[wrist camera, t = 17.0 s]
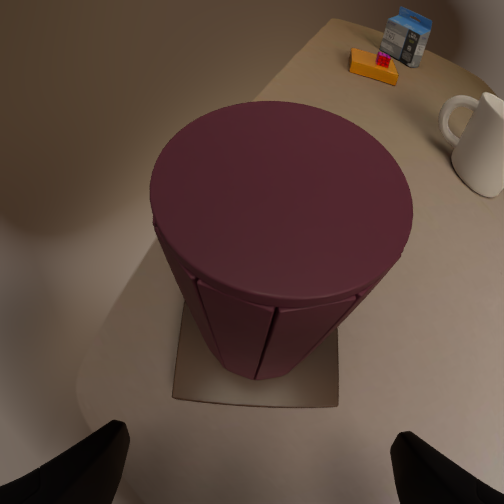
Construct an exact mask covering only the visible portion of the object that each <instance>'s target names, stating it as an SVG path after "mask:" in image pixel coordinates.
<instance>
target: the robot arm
mask: <svg viewBox="0 0 504 504" xmlns="http://www.w3.org/2000/svg"><path fill="white" fill-rule="evenodd" d="M129 444H130V436H129V433H128V430H127V427H126V424H125V423H124V422H122V421H118V420H112V421H110V422H109V423H107V424H106V425H104V426H103V427H101V428H100V429H98V430H97V431H95V432H94V433H92V434H91V435H89V436H88V437H86V438H85V439H83V440H82V441H80V442H79V443H77V444H76V445H74V446H72V447H71V448H69V449H68V450H66V451H65V452H63V453H61V454H60V455H58V456H57V457H55V458H53V459H52V460H50V461H49V462H47V463H45V464H44V465H42V466H40V468H37V469H35V470H33V471H32V472H30V473H28V474H26V475H25V476H23V477H21V478H19V479H16V480H14V481H12V482H10V483H8V484H5V485H2V486H0V504H112V501H113V499H114V496H115V493H116V491H117V488H118V485H119V483H120V480H121V477H122V473H123V469H124V464H125V460H126V456H127V452H128V448H129ZM390 454H391V460H392V466H393V473H394V479H395V485H396V490H397V494H398V497H399V501H400V504H504V494H502V493H501V492H499V491H497V490H495V489H493V488H491V487H490V486H488V485H487V484H485V483H483V482H482V481H480V480H479V479H477V478H476V477H474V476H473V475H471V474H470V473H468V472H467V471H466V470H464V469H463V468H461V467H460V466H458V465H457V464H455V463H454V462H453V461H451V460H450V459H448V458H447V457H446V456H444V455H443V454H441V453H440V452H439V451H437V450H436V449H434V448H433V447H432V446H430V445H429V444H427V443H426V442H425V441H423V440H422V439H421V438H419V437H418V436H417V435H415V434H414V433H412V432H411V431H406V432H401V433H399V434H398V435H397V437H396V439H395V441H394V443H393V444H392V446H391V450H390Z"/></svg>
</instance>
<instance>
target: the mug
mask: <svg viewBox="0 0 504 504" xmlns="http://www.w3.org/2000/svg"><path fill="white" fill-rule="evenodd" d="M457 107H467V108H469V109H471V110H472V111H473V114H472V116H471V118H470V120H469V122H468V124H467V126H466V128H465V130H464V131H463V133H462V135H461V137H460V138H458V137H457V136H455V135H454V134H453V133H452V132H451V131H450V129H449V126H448V119H449V116H450V114H451V112H452V111H453V110H454V109H455V108H457ZM438 122H439V128H440V131H441V133H442V135H443V137H444V138H445V140H446V141H447V142H448V143H449V144H450V145H451V146H453V147H454V150H453V152H452V156H451V159H452V164H453V167H454V169H455V171H456V173H457V174H458V175H459V177H460V178H461V179H462V180H463V182H464V183H465V184H466V185H467V186H469V187H470V188H471V189H472V190H473V191H475V192H476V193H478V194H480V195H482V196H485V197H495V196H497V195H498V194H499V193H500V192H501V191H502V190H503V188H504V101H503V100H501V99H500V98H498V97H496V96H495V95H493V94H490V93H487V92H484V93H483V94H482V96H481V98H480V100H479V101H478V100H476V99H474V98H472V97H470V96H465V95H458V96H454V97H452V98H450V99H448V100H447V101H446V102H445V103H444V104H443V106H442V108H441V110H440V113H439V120H438Z"/></svg>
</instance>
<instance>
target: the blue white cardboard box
mask: <svg viewBox="0 0 504 504" xmlns="http://www.w3.org/2000/svg"><path fill="white" fill-rule="evenodd" d="M410 16H413V17H414V16H416V17H417V19H419V20H420V21H421V22H418V21H416V20H414V19H412V18H410ZM431 25H432V21H431V20H429V19H427V18H425V17H423V16H421V15H419V14H417V13H415V12H412V11H410V10H408V9H406V8H403V7H400V11H399V15H397V16H395V17H392V18H389V19H388V21H387V25H386V29H385V32H384V36H383V39H382V43H381V46H380V50H382V51H384V52H385V53H387V54H389V55H391V56H393V57H394V58H396V59H398V60H399V61H401V62H403V63H404V64H406V65H408V66H409V67H418V66H419V63H420V60H421V58H422V55H423V52H424V49H425V45H426V43H427V40H428V37H429V34H430V30H431Z"/></svg>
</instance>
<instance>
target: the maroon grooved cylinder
mask: <svg viewBox="0 0 504 504" xmlns="http://www.w3.org/2000/svg"><path fill="white" fill-rule="evenodd" d="M150 202H151V208H152V213H153V226H154V228H155V232H156V235H157V237H158V240H159V242H160V244H161V247H162V249H163V252H164V254H165V256H166V259H167V261H168V263H169V266H170V268H171V270H172V272H173V275H174V277H175V279H176V281H177V284H178V286H179V288H180V290H181V292H182V295H183V297H184V299H185V301H186V303H187V305H188V307H189V310H190V312H191V314H192V316H193V318H194V320H195V322H196V324H197V326H198V328H199V330H200V332H201V334H202V336H203V338H204V340H205V342H206V344H207V346H208V348H209V349H210V351H211V352H212V353H213V355H214V356H215V357H216V358H217V360H218V361H219V362H220V363H221V365H222V366H223V367H224V368H226V369H227V371H230V372H233V373H235V374H238V375H240V376H243V377H246V378H248V379H251V380H254V377H255V380H262V379H268V378H274V377H280V376H283V375H284V374H285V375H286V374H287V373H288V372H290V371H291V370H292V369H293V368H294V367H296V366H297V365H298V364H299V363H300V362H301V361H303V360H304V359H305V358H306V357H307V356H308V355H309V354H310V353H311V352H312V351H313V350H315V349H316V348H317V347H318V346H319V345H320V344H321V343H322V342H323V341H324V340H325V339H326V338H327V337H328V336H329V335H330V334H331V333H332V332H333V331H334V330H335V329H336V328H337V327H338V326H339V325H340V324H341V323H342V322H343V321H344V320H345V319H346V318H347V317H348V316H349V314H350V313H351V312H352V311H353V310H354V309H355V308H356V307H357V306H358V305H359V304H360V303H361V302H362V301H363V300H364V298H365V297H366V296H367V295H368V294H369V293H370V292H371V291H372V290H373V288H374V287H375V286H376V285H377V284H378V283H379V282H380V281H381V279H382V278H383V277H384V276H385V275H386V274H387V273H388V271H389V270H390V269H391V268H392V267H393V265H394V264H395V263H396V262H397V261H398V260H399V258H400V257H401V253H402V252H403V249H404V247H405V245H406V243H407V241H408V238H409V235H410V231H411V228H412V219H413V204H412V197H411V193H410V189H409V186H408V183H407V181H406V178H405V176H404V174H403V172H402V170H401V168H400V167H399V165H398V164H397V162H396V161H395V159H394V158H393V157H392V155H391V154H390V153H389V152H388V151H387V150H386V149H385V147H384V146H383V145H382V144H381V143H379V142H378V141H377V140H376V139H375V138H374V137H373V136H371V135H370V134H369V133H367V132H366V131H365V130H363V129H362V128H360V127H359V126H357V125H355V124H354V123H352V122H350V121H348V120H346V119H344V118H342V117H340V116H338V115H336V114H333V113H331V112H328V111H325V110H322V109H319V108H316V107H312V106H308V105H304V104H298V103H291V102H281V101H257V102H247V103H241V104H236V105H232V106H228V107H224V108H221V109H218V110H215V111H212V112H210V113H208V114H206V115H204V116H201V117H199V118H198V119H196V120H194V121H193V122H191V123H189V124H188V125H187V126H185V127H184V128H183V129H181V130H180V131H179V132H178V133H177V134H176V135H175V136H174V137H173V138H172V139H171V140H170V141H169V142H168V143H167V145H166V146H165V147H164V148H163V150H162V152H161V153H160V155H159V157H158V159H157V161H156V163H155V166H154V169H153V171H152V176H151V181H150Z"/></svg>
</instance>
